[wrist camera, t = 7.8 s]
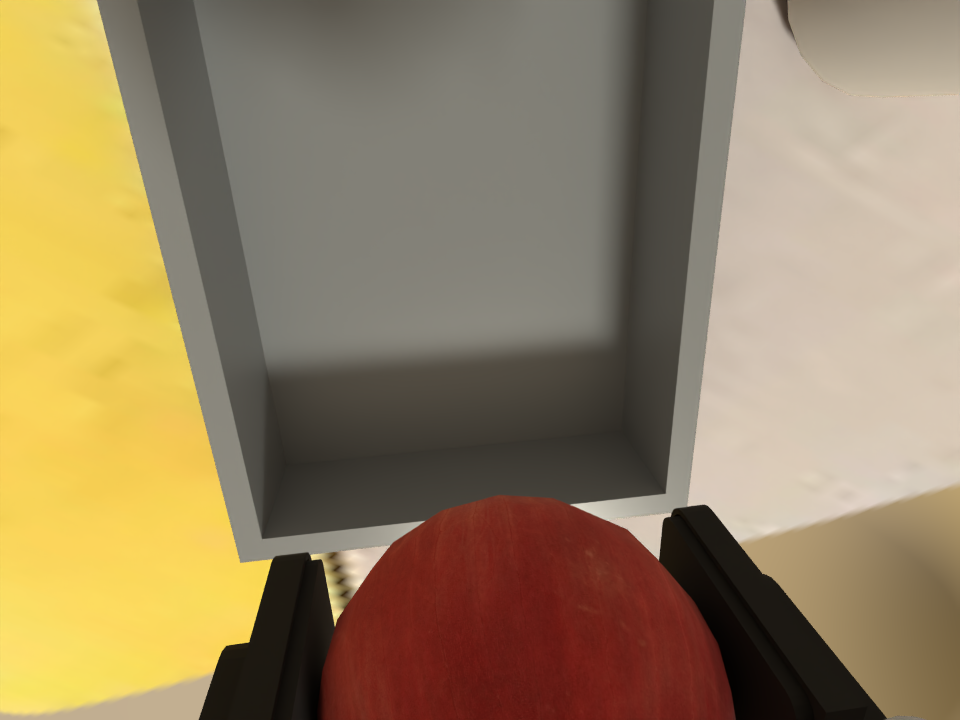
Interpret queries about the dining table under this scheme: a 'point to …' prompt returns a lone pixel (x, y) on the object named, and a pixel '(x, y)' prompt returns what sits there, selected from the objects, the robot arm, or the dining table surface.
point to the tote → (435, 247)
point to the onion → (522, 625)
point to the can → (881, 45)
